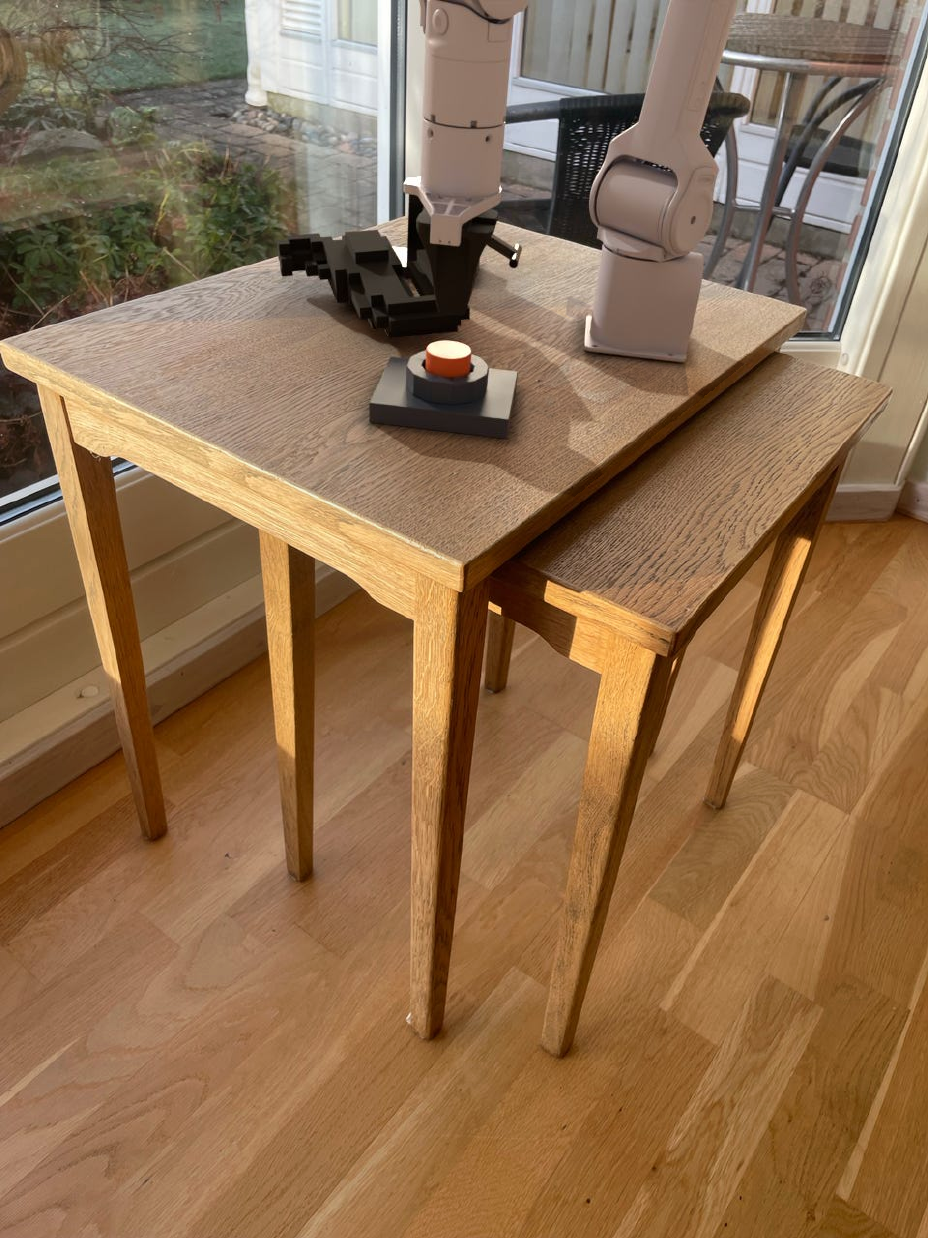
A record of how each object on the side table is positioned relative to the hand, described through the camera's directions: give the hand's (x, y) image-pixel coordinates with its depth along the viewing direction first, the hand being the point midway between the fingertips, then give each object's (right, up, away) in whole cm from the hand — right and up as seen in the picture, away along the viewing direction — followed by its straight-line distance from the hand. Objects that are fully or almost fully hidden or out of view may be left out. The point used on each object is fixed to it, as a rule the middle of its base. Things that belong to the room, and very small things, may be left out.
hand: (452, 310), depth 76 cm
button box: (-1, -6, +5) cm, 8 cm away
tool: (-8, +6, +20) cm, 22 cm away
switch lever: (+1, +16, +27) cm, 31 cm away
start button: (0, -4, +3) cm, 5 cm away
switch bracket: (-3, +13, +29) cm, 33 cm away
